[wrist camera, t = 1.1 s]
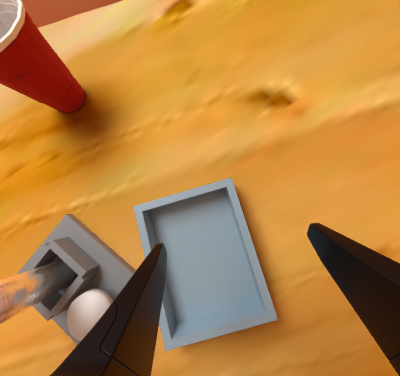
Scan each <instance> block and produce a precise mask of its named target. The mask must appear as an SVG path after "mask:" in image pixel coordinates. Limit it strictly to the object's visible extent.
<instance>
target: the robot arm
mask: <svg viewBox="0 0 400 376" xmlns="http://www.w3.org/2000/svg"><path fill="white" fill-rule="evenodd" d="M307 236H308V238H309V240H310V242H311V243H312V245H313V247H314V249H315V251H316V253H317V254H318V256H319V258H320V260H321V261H322V263H323V264H324V266H325V267H326V269H327V270H328V272H329V273H330V275H331V276H332V278H333V279H334V281H335V282H336V284H337V285H338V286H339V288H340V289H341V291H342V292H343V294H344V295H345V297H346V298H347V300H348V301H349V303H350V304H351V306H352V307H353V309H354V310H355V311H356V313H357V314H358V316H359V317H360V319H361V320H362V322H363V323H364V325H365V326H366V328H367V329H368V331H369V332H370V333H371V335H372V336H373V338H374V339H375V341H376V342H377V344H378V345H379V347H380V348H381V350H382V351H383V353H384V354H385V356H386V357H387V358H388V360H390V361H389V362H390V363H391V365H392V366H393V368H394V369H395V370H396V372H397V373H398V375H399V376H400V263H398V262H396V261H394V260H392V259H390V258H388V257H386V256H384V255H382V254H380V253H378V252H376V251H374V250H372V249H370V248H368V247H366V246H364V245H362V244H360V243H358V242H356V241H354V240H352V239H350V238H348V237H346V236H344V235H342V234H340V233H338V232H336V231H334V230H332V229H330V228H328V227H326V226H324V225H322V224H320V223H312V224H310V225H309V229H308V232H307ZM166 265H167V251H166V248H165V246H164V244H163V243H157V244H156V245H155V246H154V248H153V249H152V250H151V252H150V253H149V254H148V256H147V257H146V258H145V260H144V261H143V262H142V264H141V265H140V266H139V268H138V269H137V270H136V272H135V273H134V274H133V276H132V277H131V278H130V280H129V281H128V282H127V284H126V285H125V286H124V288H123V289H122V290H121V292H120V293H119V294H118V296H117V297H116V299H115V300H114V301H113V302H112V304H111V305H110V306H109V308H108V309H107V310H106V311H105V313H104V314H103V315H102V317H101V318H100V319H99V320H98V322H97V323H96V324H95V325H94V326H93V328H92V329H91V330H90V331H89V332H88V333H87V335H86V336H85V337H84V338H83V339H82V340H81V342H80V343H79V344H78V345H77V346H76V347H75V349H74V350H73V351H72V352H71V353H70V354H69V356H68V357H67V358H66V359H65V360H64V361H63V363H62V364H61V365H60V366H59V367H58V368H57V369H56V370H55V371H54V372H53V373H52V374H51V375H50V376H151V370H152V364H153V357H154V351H155V345H156V339H157V332H158V326H159V320H160V313H161V307H162V301H163V294H164V288H165V281H166Z"/></svg>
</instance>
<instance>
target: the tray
mask: <svg viewBox="0 0 400 376" xmlns="http://www.w3.org/2000/svg"><path fill="white" fill-rule="evenodd" d="M134 211H135V216H136V220H137V225H138V229H139V234H140V238H141V243H142V247H143V252H144V256H145V258H146V257H147V256H148V254H149V253H150V252H151V250H152V249H153V248H154V246H155V245H156V244H157V243H163V244H164V246H165V248H166V251H167V265H166V281H165V288H164V294H163V301H162V307H161V313H160V320H159V324H160V328H161V333H162V338H163V342H164V347H165V351H167V350H171V349H174V348H178V347H182V346H185V345H189V344H192V343H196V342H200V341H203V340H207V339H210V338H214V337H218V336H221V335H225V334H229V333H232V332H236V331H239V330H243V329H247V328H250V327H254V326H257V325H261V324H265V323H268V322H272V321H275V320H278V318H277V315H276V312H275V309H274V306H273V303H272V300H271V297H270V294H269V291H268V288H267V285H266V282H265V279H264V275H263V272H262V269H261V266H260V263H259V260H258V257H257V254H256V251H255V248H254V245H253V242H252V239H251V236H250V233H249V230H248V226H247V223H246V220H245V217H244V214H243V211H242V208H241V205H240V202H239V199H238V196H237V193H236V190H235V187H234V184H233V181H232V178H228V179H225V180H221V181H218V182H215V183H211V184H208V185H204V186H201V187H198V188H194V189H191V190H187V191H184V192H181V193H177V194H174V195H170V196H167V197H164V198H160V199H157V200H153V201H150V202H147V203H143V204H140V205H137V206H134Z"/></svg>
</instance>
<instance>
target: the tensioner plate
mask: <svg viewBox="0 0 400 376" xmlns="http://www.w3.org/2000/svg"><path fill="white" fill-rule="evenodd" d="M59 260H63V261H64V262H65V263H66V264H67V265H68V266H69V267H70V268H71V269H72V270H74V271H75V272H76V273H77V274H78V275H79V276H78V277H77V278H76V279H75V281H74V282H73V283H72V284H71V286H69V287H67V288H65V289H63V290H62V291H60V292H58V293H56V294H54V295H52V296H51V297H49V298H47V299H45V300H43V301H42V302H40V303H38V304H36V305H34V307H35V309H36V310H37V311H38V312H39V313H40V314H41V315H42V316H43V317H44V318H45V319H46V320H47V321H48V320H50V319H51V318H52V319H53V320H54V321H55V322H56V323H57V324H58V325H59V326H60V327H61V328H62V329H63V330H64V331H65V332H66V333H67V334H68V335H69V336H70V337H71V338H72V340H73V341H74V342H75V343H76V344H77V345H78V344H79V343H80V342H81V340H82V339H83V338H84V337H85V336H86V335H87V333H88V332H89V331H90V330H91V329H92V328H93V326H94V325H95V324H96V323H97V322H98V320H99V319H100V318H101V317H102V315H103V314H104V313H105V311H106V310H107V309H108V308H109V306H110V305H111V304H112V302H113V301H114V300H115V299H116V297H117V296H118V294H119V293H120V292H121V290H122V289H123V288H124V286H125V285H126V284H127V282H128V281H129V280H130V278H131V277H132V276H133V274H134V273H135V272H136V270H135V269H133V268H132V267H131V266H130V265H129V264H128V263H127V262H125V261H124V260H123V259H122V258H121V257H120V256H119V255H118V254H116V253H115V252H114V251H113V250H112V249H111V248H110V247H108V246H107V245H106V244H105V243H104V242H103V241H102V240H100V239H99V238H98V237H97V236H96V235H95V234H94V233H93V232H91V231H90V230H89V229H88V228H87V227H86V226H85V225H83V224H82V223H81V222H80V221H79V220H78V219H77V218H75V217H74V216H73V215H72V214H66V215H65V216H64V218H63V219H62V220H61V221H60V223H59V224H58V225H57V226H56V227H55V229H54V230H53V231H52V232H51V234H50V235H49V236H48V237H47V238H46V240H45V241H44V242H43V243H42V245H41V246H40V247H39V248H38V249H37V251H36V252H35V253H34V254H33V256H32V257H31V258H30V259H29V260H28V262H27V263H26V264H25V265H24V266H23V268H22V269H21V270H20V271H19V273H18V274H20V273H23V272H26V271H29V270H32V269H35V268H38V267H41V266H44V265H47V264H50V263H53V262H56V261H59Z"/></svg>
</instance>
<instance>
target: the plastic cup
mask: <svg viewBox="0 0 400 376" xmlns="http://www.w3.org/2000/svg"><path fill="white" fill-rule="evenodd" d="M0 83H1V84H3V85H5V86H7V87H9V88H11V89H13V90H15V91H17V92H19V93H21V94H24V95H26V96H28V97H30V98H32V99H34V100H36V101H38V102H40V103H44V104H46V105H48V106H50V107H52V108H54V109H56V110H58V111H62V112H65V113H70V112H74V111H76V110H78V109H79V108H80V107H81V106H82V105H83V103H84V100H85V93H84V91H83V89H82V88H81V86H80V84H79V83H78V82H77V80H76V79H75V78H74V77H73V75H72V74H71V73H70V71H69V69H68V68H67V67H66V66H65V64H64V63H63V62H62V60H61V59H60V58H59V56H58V55H57V54H56V53H55V51H54V50H53V49H52V47H51V46H50V45H49V43H48V42H47V41H46V40H45V38H44V37H43V36H42V34H41V33H40V32H39V30H38V28H37V27H36V25H35V24H34V23H33V21H32V20H31V18H30V16H29V15H28V14H27V12H26V10H25V7H24V5H23V3H22V1H21V0H0Z"/></svg>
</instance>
